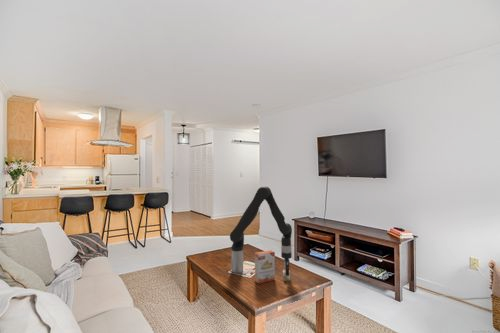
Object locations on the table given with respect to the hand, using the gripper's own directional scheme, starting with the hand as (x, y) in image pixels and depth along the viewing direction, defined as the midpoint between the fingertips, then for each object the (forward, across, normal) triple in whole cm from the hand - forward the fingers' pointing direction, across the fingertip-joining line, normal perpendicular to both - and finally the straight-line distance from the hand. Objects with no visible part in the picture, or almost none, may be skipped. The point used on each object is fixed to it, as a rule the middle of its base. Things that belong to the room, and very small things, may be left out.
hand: (286, 272), depth 194 cm
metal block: (+5, 0, 0) cm, 5 cm away
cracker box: (+5, +3, -16) cm, 17 cm away
